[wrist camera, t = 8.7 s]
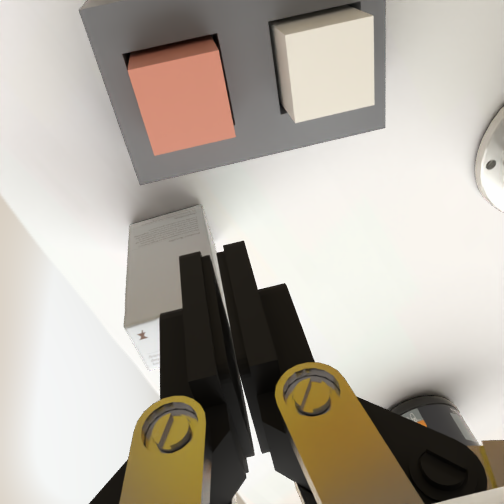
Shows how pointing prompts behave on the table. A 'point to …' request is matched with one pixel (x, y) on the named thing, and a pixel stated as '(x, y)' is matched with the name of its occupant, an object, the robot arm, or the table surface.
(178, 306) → the skincare box
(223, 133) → the brick key
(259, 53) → the key housing
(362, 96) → the ivory key
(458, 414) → the supplement container
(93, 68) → the table surface
